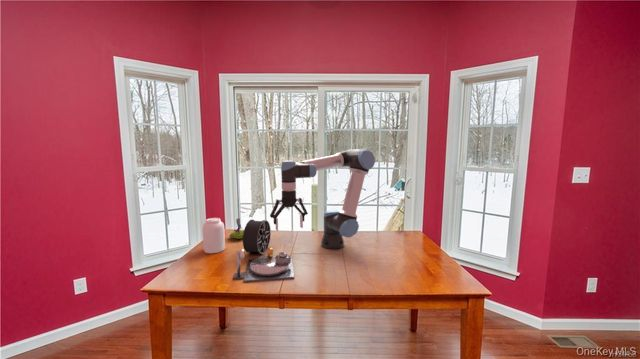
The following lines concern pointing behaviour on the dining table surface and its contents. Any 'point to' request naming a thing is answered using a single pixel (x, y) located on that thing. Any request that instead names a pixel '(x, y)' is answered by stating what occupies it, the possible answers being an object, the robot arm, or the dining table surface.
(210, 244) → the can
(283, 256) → the cover
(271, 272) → the turntable
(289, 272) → the turntable base
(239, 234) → the figurine
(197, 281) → the dining table surface
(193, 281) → the dining table surface
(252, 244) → the wheel rim
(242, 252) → the dial stand
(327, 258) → the dining table surface
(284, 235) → the dining table surface
